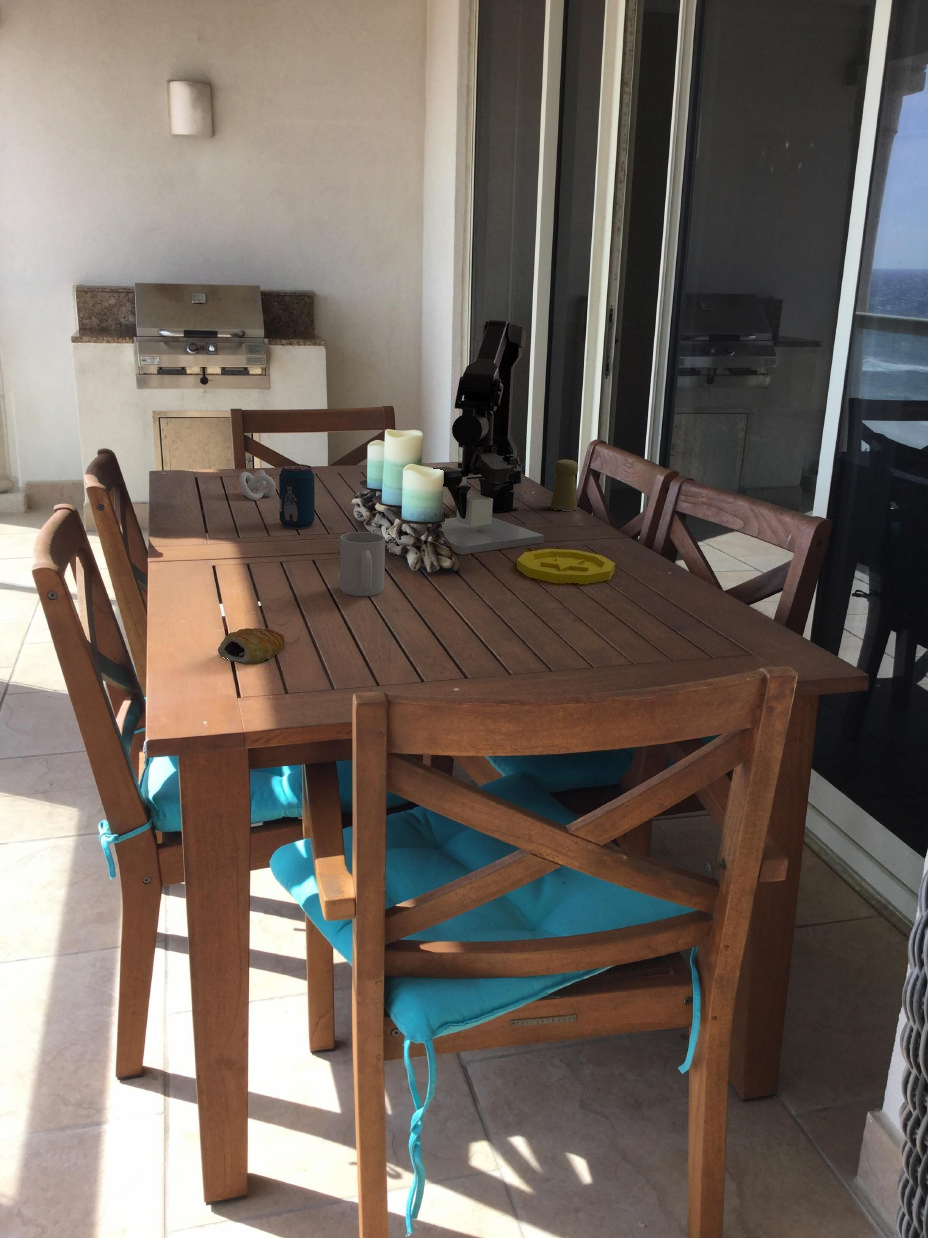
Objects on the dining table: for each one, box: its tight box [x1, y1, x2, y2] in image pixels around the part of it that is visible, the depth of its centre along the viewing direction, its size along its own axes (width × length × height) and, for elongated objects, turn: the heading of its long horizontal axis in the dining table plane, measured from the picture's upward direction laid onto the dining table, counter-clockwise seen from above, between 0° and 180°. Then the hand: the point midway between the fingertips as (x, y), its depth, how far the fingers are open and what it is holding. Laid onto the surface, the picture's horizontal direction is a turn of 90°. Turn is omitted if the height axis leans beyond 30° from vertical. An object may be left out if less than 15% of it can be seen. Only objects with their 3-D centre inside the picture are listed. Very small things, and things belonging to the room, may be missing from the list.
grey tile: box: [442, 516, 545, 555], centre depth 208 cm, size 20×20×2 cm
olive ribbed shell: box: [217, 627, 286, 665], centre depth 142 cm, size 9×7×4 cm
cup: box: [339, 531, 386, 598], centre depth 169 cm, size 7×10×9 cm
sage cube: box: [455, 493, 493, 526], centre depth 206 cm, size 5×5×5 cm
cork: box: [549, 458, 579, 511], centre depth 235 cm, size 6×6×11 cm
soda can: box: [278, 463, 316, 530], centre depth 209 cm, size 7×7×12 cm
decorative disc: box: [516, 548, 616, 585], centre depth 188 cm, size 17×18×2 cm
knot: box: [238, 469, 277, 501], centre depth 233 cm, size 8×8×6 cm
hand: (473, 517), depth 207 cm, fingers closed on sage cube, 5 cm apart
